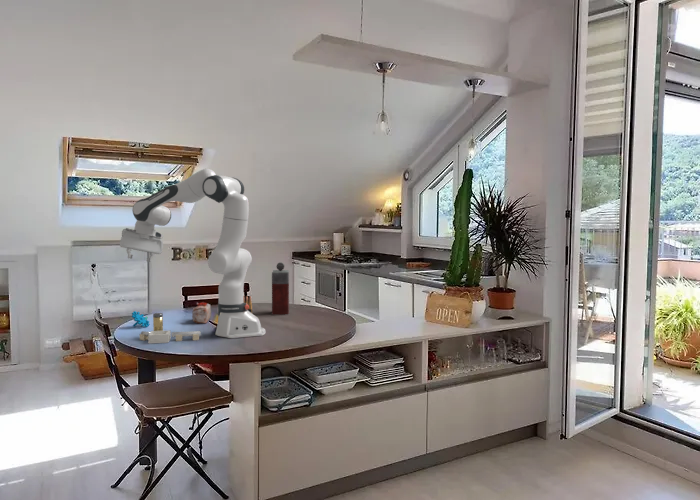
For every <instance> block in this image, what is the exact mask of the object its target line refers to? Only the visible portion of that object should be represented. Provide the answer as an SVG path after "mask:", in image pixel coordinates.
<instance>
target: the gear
mask: <svg viewBox="0 0 700 500" xmlns="http://www.w3.org/2000/svg"><path fill="white" fill-rule="evenodd" d="M144 316H145V314H143V313H141V312H139V311H136V310H133V312H131V317H132V319H133V321H134V322H135V323H134V324H133V325H132V327H133V328H135V327H136V326H137V325H138V326H141V327H143V328H144V327H145V328H148V327H149V325H150V320H148V316H145V317H144Z"/></svg>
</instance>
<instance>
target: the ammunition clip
mask: <svg viewBox="0 0 700 500" xmlns="http://www.w3.org/2000/svg"><path fill="white" fill-rule="evenodd" d="M245 297H246V298H245ZM243 302H244V303H247V304H248V305H249V308H248V311H249V312H251V313H252V314H253V304H252V302H253V301H252V296H251V295H250V296H249V297H248V295H246V296H245V295H243Z"/></svg>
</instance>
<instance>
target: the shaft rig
mask: <svg viewBox="0 0 700 500" xmlns="http://www.w3.org/2000/svg"><path fill="white" fill-rule="evenodd" d="M149 332H150V334H149V335H148V339H147V341H148V344H168V343H169V342H170V340H171V338H175V342H182V341H183V337H192V341H199V340H200V337H201V336H202V332H201V331H200V330H199V331H197V330H195V331H172V332H171V330H163V331H153V330H151V331H149Z"/></svg>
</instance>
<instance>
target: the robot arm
mask: <svg viewBox="0 0 700 500" xmlns="http://www.w3.org/2000/svg"><path fill="white" fill-rule="evenodd" d="M244 193H245V186H244V184H243V182H242V181H241V180H239V179H238V178H236V177H230V176H228V175H217V174H216V172H215V171H214V170H213V169H211V168H203V169H201V170H198V171H196V172H195V173H193V174H192V175H190V176H189V177H188V178H185V179H184V180H182V181H180V182H177V183H174V184H170V185H168V186H165V187H164V188H162V189H160V190H159V191H156V192H155V193H153V194H151V195H149V196H147V197H145V198H141V199H139V200H137V201H136V202H135V203H134V204H133V206H132V209H131V210H132V214H133V216H134V218H135V220H136V221H135V224H134V229H133V228H127V227H126V228H124V229H122V231H121V238H120V239H119V247H120V248H123V249H126V253H127V259H133V256H134V255H133V254H132V253H131V251H133V250H134V251H138V252H144V253H149V257H147V258H146V262H147V263H151V262H152V259H153V257H155V254H156V255H161V253H163V249H164V241H163V237H164V235H163V233H161V232H159V231H158V230H156V229H155V225H156V226H161V227H163V226H166V225H168V224H169V223H170V222H171V219H172V211H171V210H170V208H168V207H167V206H165V205H166V203H170V202H178V203H180V202H181V203H186V204H192V203H193V204H194V203H196V202H199V201H201V200H202V199H204V198H205V197H207V198H208V199H211V200H213V201H215V202H217V203H218V204H220V203H222V204H223V209H224V210H223V216H222V223H221V225H222V226H221V231H220V236H219V238H218V241H217V243H216V246H215V247H214V250H213V251H212V252H211V254H210V255H209V257H208V258H207V264H208V268H209V270H211V271H212V272H213V273H214V274H221V275H223V277H222V279H221V282H220V283H219V284H218V303H217V317H218V318H217V326H216V331H215V333H214V334H215V336H218V337H223V338H226V339H227V338H228V339H236V338H238V339H239V338H247V337H249V338H250V337H258V336H259V337H260V336H264V335H265V334H266V328H264V327H262V325H261V321H260V319H259V317H258V316H256V315H254V314H253V312H252V313H251V312H249V311H248V308H249V305H248V304H247V303H246V302H245V303H244V302H243V296H244V291H245V289H244V288H245V287H244V286H245V280H246V275H247V271H248V269H249V267H250V266H251V264H252V262H253V258H252V255H251V252H250V251H249V250H247V249H246V248H241V246H242V244H243V241H245V239H246V238H247V232H248V226H249V216H250V215H249V214H250V204H249V199H248V197H247V196H246V195H244Z"/></svg>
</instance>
